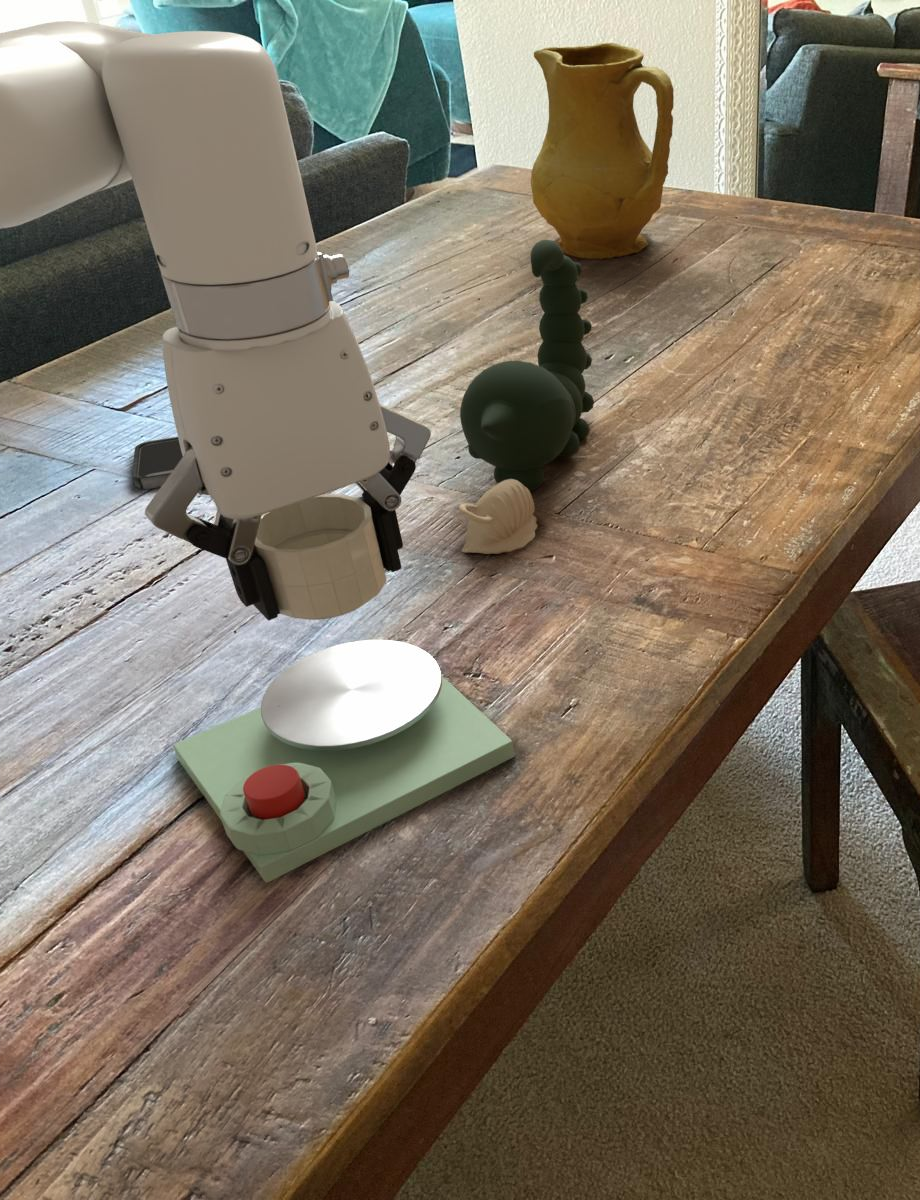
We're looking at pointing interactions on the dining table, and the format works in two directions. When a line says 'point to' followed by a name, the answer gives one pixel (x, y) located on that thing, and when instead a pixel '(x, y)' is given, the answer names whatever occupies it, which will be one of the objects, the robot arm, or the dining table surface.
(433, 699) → the scale pan
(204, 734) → the scale
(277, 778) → the tare button
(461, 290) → the dining table surface
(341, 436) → the robot arm
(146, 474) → the phone
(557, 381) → the toy figurine
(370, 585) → the bowl
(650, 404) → the dining table surface
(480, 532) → the decorative ornament
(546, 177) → the pitcher
